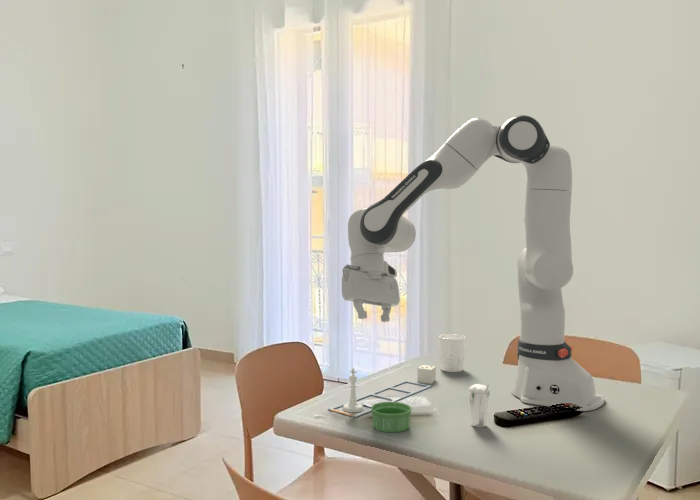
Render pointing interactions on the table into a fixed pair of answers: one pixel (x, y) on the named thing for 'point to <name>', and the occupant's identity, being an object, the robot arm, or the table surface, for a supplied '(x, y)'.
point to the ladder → (380, 397)
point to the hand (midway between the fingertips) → (374, 320)
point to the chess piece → (352, 395)
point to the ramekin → (391, 416)
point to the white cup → (452, 352)
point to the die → (426, 374)
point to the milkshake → (479, 404)
